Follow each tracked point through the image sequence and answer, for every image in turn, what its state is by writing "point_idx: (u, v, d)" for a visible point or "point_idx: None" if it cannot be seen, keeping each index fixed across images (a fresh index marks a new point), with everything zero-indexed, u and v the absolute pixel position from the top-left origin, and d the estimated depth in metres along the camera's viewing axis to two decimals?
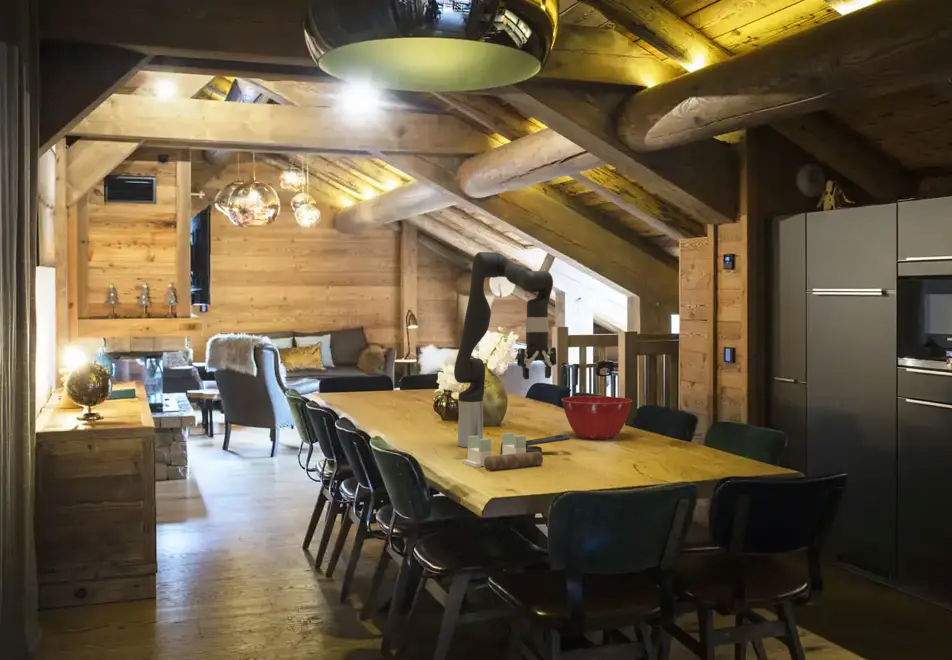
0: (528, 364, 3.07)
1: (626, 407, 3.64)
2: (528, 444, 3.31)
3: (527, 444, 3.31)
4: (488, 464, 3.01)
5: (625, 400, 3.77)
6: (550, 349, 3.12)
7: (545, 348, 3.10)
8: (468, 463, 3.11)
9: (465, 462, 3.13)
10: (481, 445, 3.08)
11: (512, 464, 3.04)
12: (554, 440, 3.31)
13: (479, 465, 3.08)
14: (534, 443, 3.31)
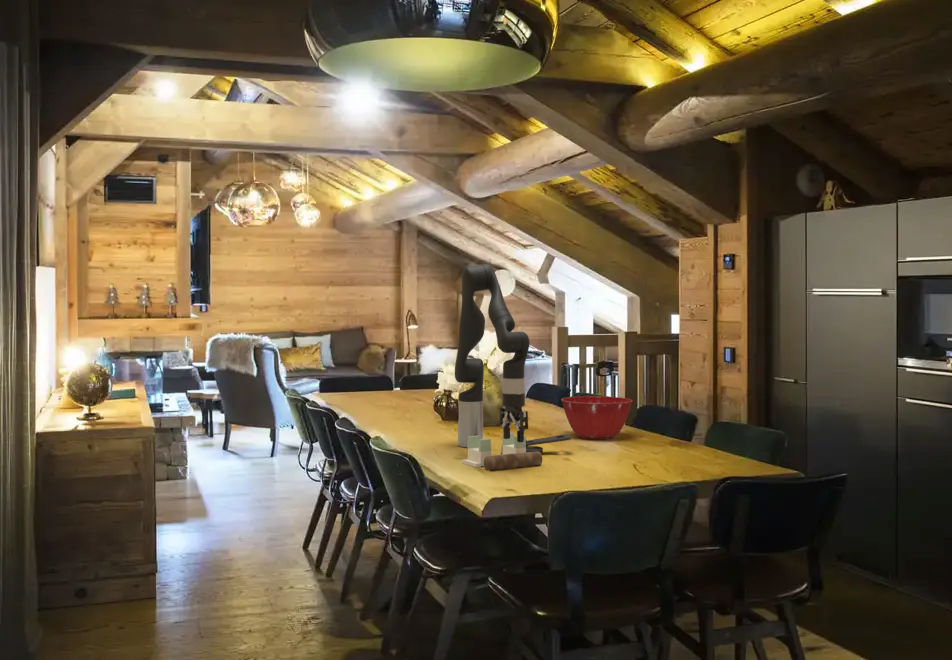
0: None
1: (626, 407, 3.64)
2: (529, 444, 3.31)
3: (528, 444, 3.31)
4: (488, 464, 3.01)
5: (625, 400, 3.77)
6: None
7: None
8: (468, 463, 3.11)
9: (465, 462, 3.13)
10: (481, 445, 3.08)
11: (511, 463, 3.04)
12: (555, 440, 3.31)
13: (479, 465, 3.08)
14: (535, 443, 3.31)
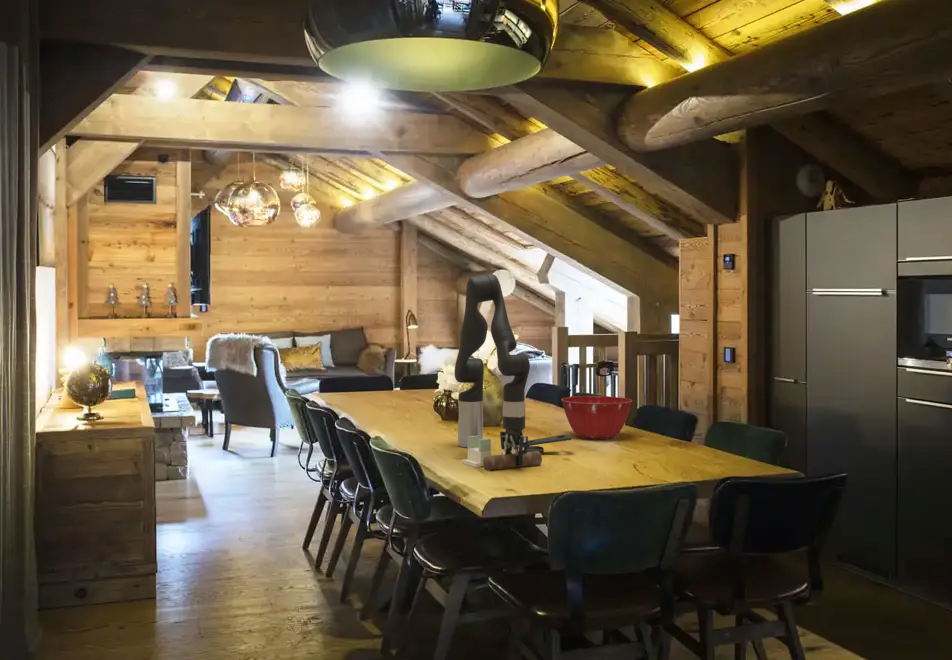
0: None
1: (626, 407, 3.64)
2: (530, 444, 3.31)
3: (529, 444, 3.31)
4: (488, 463, 3.02)
5: (625, 400, 3.77)
6: None
7: None
8: (468, 463, 3.11)
9: (465, 462, 3.13)
10: (481, 445, 3.08)
11: (511, 462, 3.04)
12: (556, 440, 3.31)
13: (479, 465, 3.08)
14: (536, 443, 3.31)
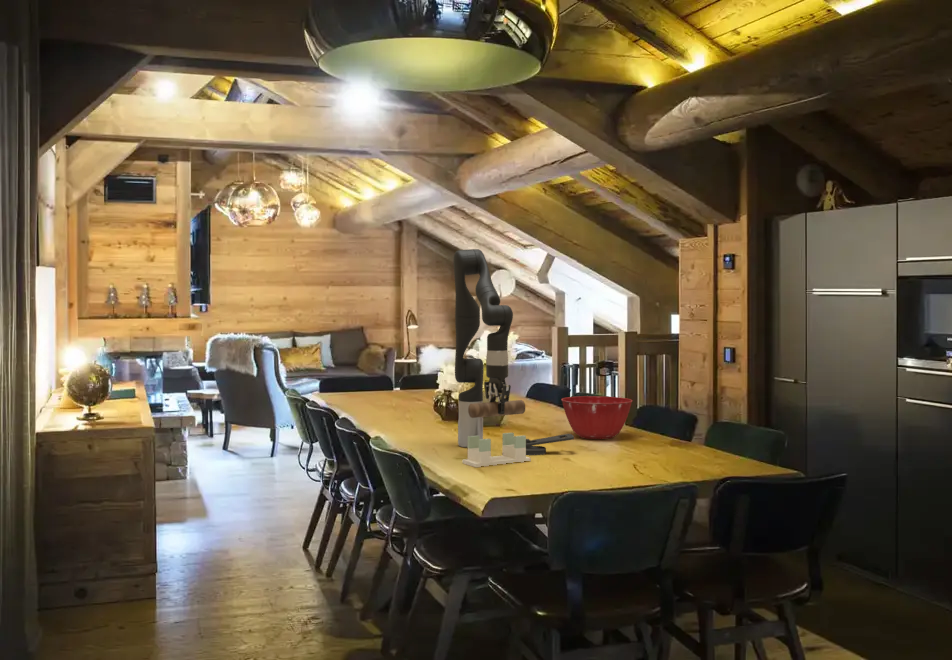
0: None
1: (626, 407, 3.64)
2: (532, 444, 3.31)
3: (531, 444, 3.31)
4: (472, 411, 3.10)
5: (625, 400, 3.77)
6: None
7: None
8: (468, 463, 3.11)
9: (465, 462, 3.13)
10: (481, 445, 3.08)
11: (495, 411, 3.13)
12: (558, 440, 3.31)
13: (479, 465, 3.08)
14: (538, 443, 3.31)
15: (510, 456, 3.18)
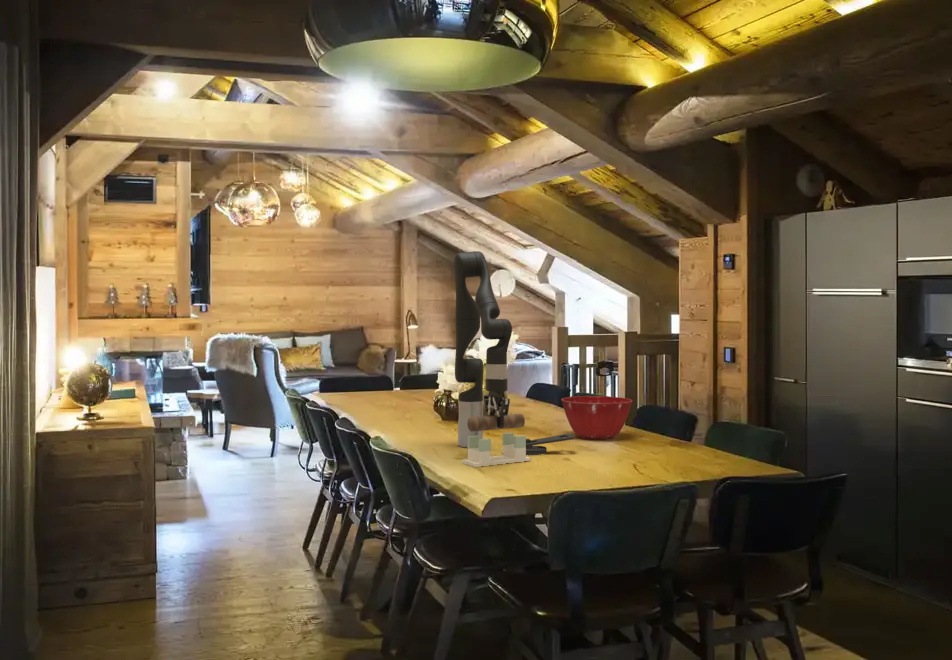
0: None
1: (626, 407, 3.64)
2: (533, 444, 3.31)
3: (532, 444, 3.31)
4: (471, 424, 3.10)
5: (625, 400, 3.77)
6: None
7: None
8: (468, 463, 3.11)
9: (465, 462, 3.13)
10: (481, 445, 3.08)
11: (494, 425, 3.13)
12: (559, 439, 3.32)
13: (479, 465, 3.08)
14: (539, 443, 3.32)
15: (510, 456, 3.18)
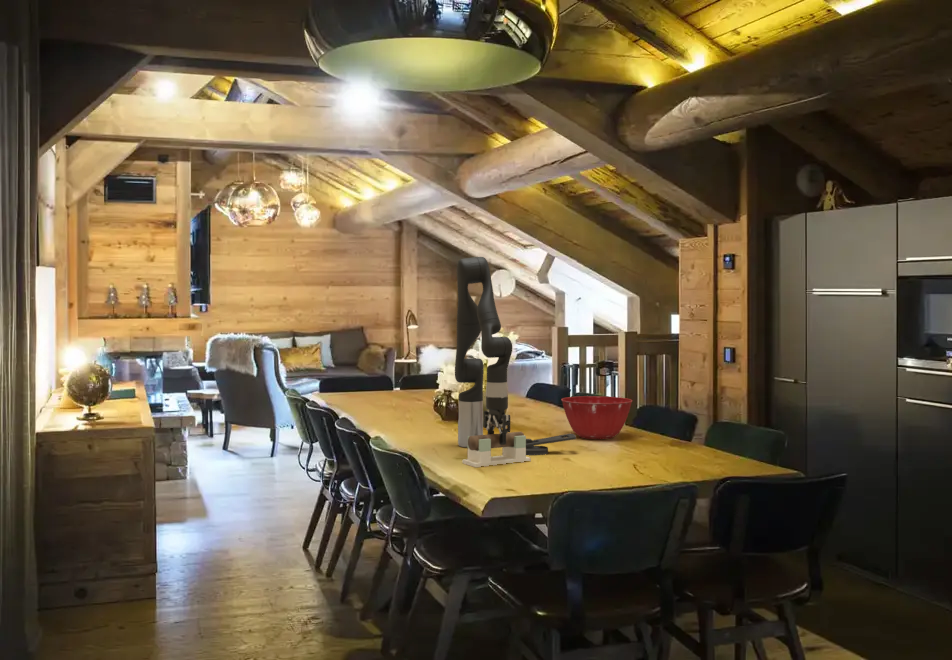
0: None
1: (626, 407, 3.64)
2: (535, 444, 3.31)
3: (534, 444, 3.31)
4: (472, 443, 3.11)
5: (625, 400, 3.77)
6: None
7: None
8: (468, 463, 3.11)
9: (465, 462, 3.13)
10: (481, 445, 3.08)
11: (494, 443, 3.13)
12: (560, 440, 3.32)
13: (479, 465, 3.08)
14: (541, 443, 3.32)
15: (510, 456, 3.18)
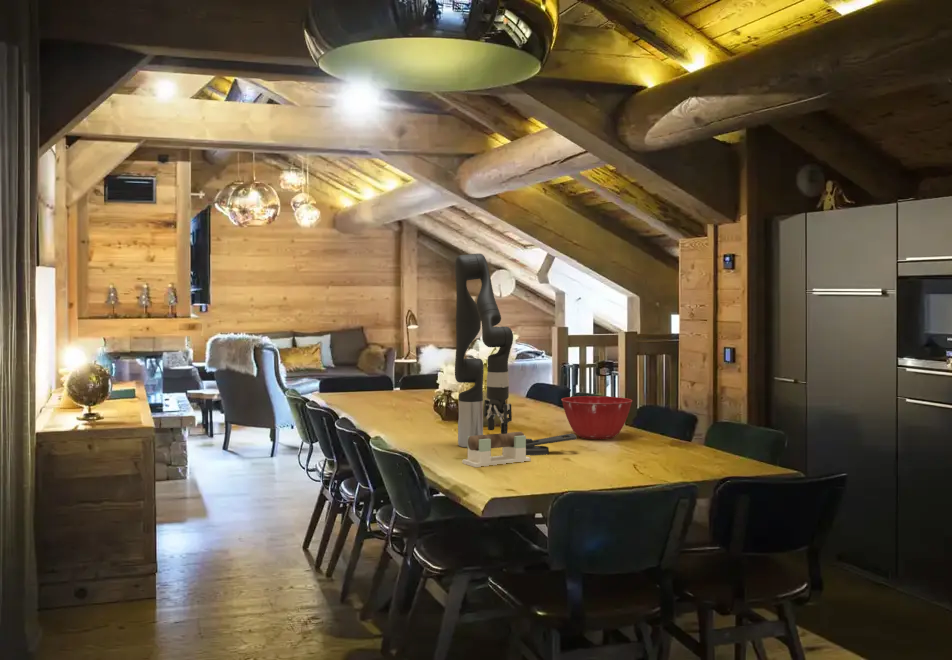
0: None
1: (626, 407, 3.64)
2: (535, 444, 3.31)
3: (534, 444, 3.31)
4: (472, 443, 3.11)
5: (625, 400, 3.77)
6: None
7: None
8: (468, 463, 3.11)
9: (465, 462, 3.13)
10: (481, 445, 3.08)
11: (494, 443, 3.13)
12: (561, 440, 3.32)
13: (479, 465, 3.08)
14: (541, 443, 3.31)
15: (510, 456, 3.18)
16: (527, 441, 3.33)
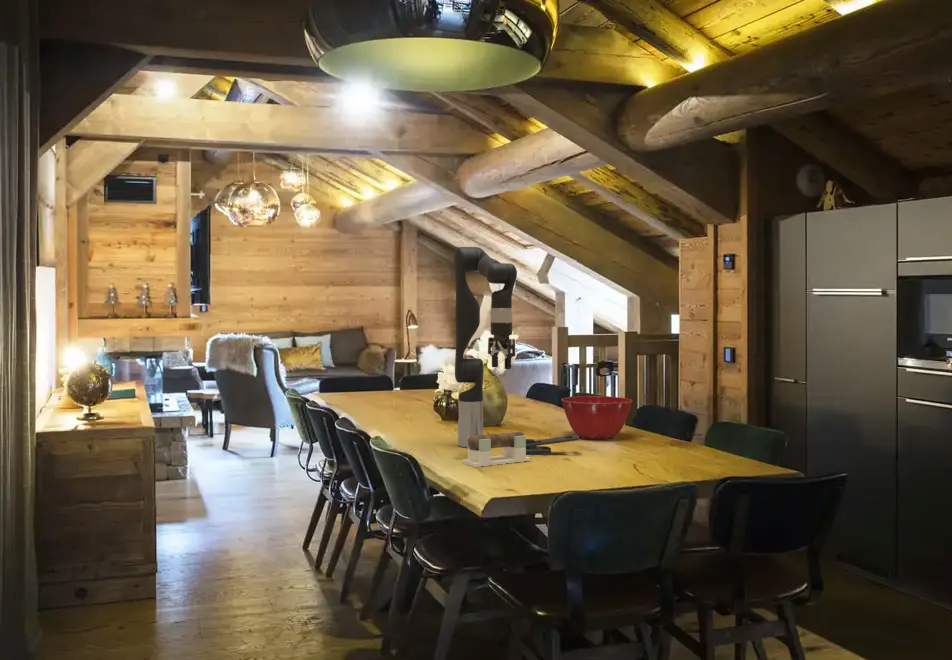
0: None
1: (626, 407, 3.64)
2: (537, 444, 3.31)
3: (536, 444, 3.30)
4: (472, 443, 3.11)
5: (625, 400, 3.77)
6: None
7: None
8: (468, 463, 3.11)
9: (465, 462, 3.13)
10: (481, 445, 3.08)
11: (494, 443, 3.13)
12: (563, 440, 3.30)
13: (479, 465, 3.08)
14: (543, 443, 3.31)
15: (510, 456, 3.18)
16: (529, 441, 3.32)
